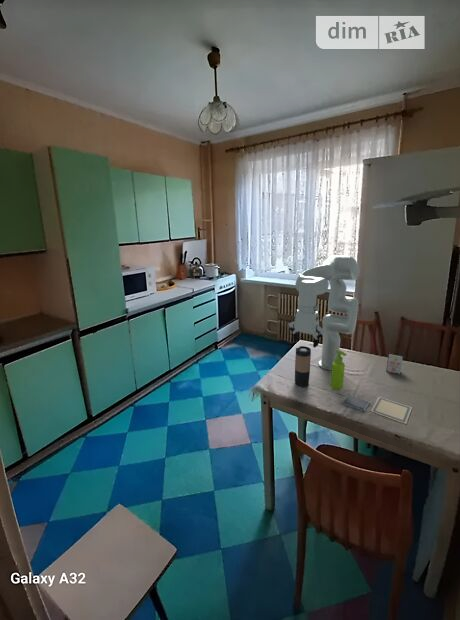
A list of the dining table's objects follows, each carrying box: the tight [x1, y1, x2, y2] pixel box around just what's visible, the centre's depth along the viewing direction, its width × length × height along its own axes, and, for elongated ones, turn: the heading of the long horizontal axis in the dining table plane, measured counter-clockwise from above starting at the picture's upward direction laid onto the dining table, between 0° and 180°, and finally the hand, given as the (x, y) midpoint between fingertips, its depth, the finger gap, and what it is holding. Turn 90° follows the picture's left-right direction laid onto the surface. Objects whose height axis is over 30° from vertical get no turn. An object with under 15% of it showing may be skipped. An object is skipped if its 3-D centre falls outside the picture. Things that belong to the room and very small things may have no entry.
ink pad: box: [341, 394, 371, 413], centre depth 135 cm, size 8×10×1 cm
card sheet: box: [370, 396, 413, 425], centre depth 131 cm, size 14×14×1 cm
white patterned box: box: [385, 353, 404, 375], centre depth 161 cm, size 4×7×10 cm, turn 55°
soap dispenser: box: [330, 350, 348, 390], centre depth 147 cm, size 6×7×20 cm
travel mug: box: [294, 345, 312, 388], centre depth 151 cm, size 8×8×20 cm
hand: (305, 343), depth 132 cm, fingers open, 9 cm apart
